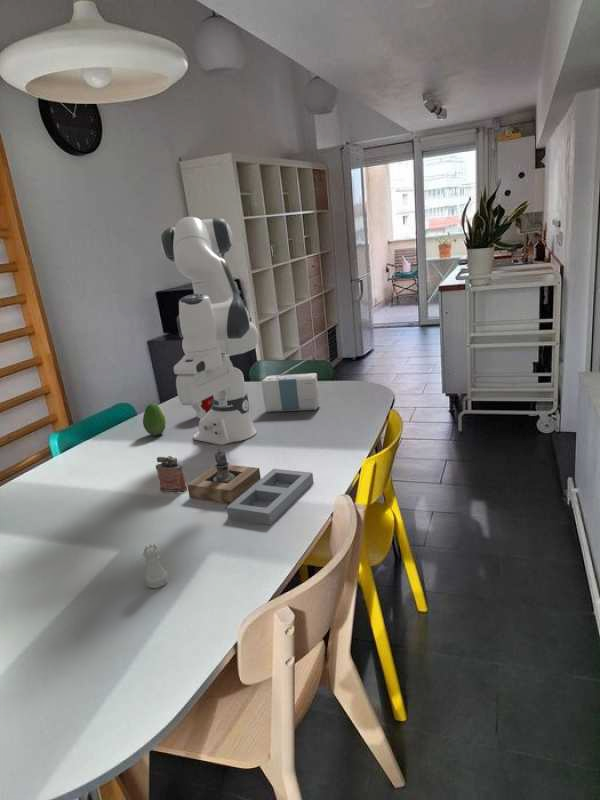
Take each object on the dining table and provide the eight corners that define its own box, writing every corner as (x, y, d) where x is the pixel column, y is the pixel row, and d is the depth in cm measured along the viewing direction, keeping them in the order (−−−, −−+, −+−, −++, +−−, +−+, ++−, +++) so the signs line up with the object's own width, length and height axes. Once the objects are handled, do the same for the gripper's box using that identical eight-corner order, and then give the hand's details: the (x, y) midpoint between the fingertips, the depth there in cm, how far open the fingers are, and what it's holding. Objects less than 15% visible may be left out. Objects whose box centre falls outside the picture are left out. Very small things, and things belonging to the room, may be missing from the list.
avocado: (170, 430, 205) (164, 399, 201) (163, 437, 197) (157, 406, 194) (150, 431, 206) (144, 401, 202) (142, 439, 198) (135, 408, 195)
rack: (228, 518, 133) (226, 507, 132) (274, 478, 152) (273, 468, 151) (270, 525, 127) (269, 513, 126) (313, 482, 146) (312, 472, 145)
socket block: (189, 498, 146) (187, 484, 145) (219, 476, 158) (217, 463, 157) (232, 504, 139) (230, 490, 138) (261, 481, 151) (259, 468, 150)
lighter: (189, 488, 152) (183, 454, 150) (183, 493, 149) (176, 459, 147) (164, 486, 155) (158, 454, 152) (158, 492, 152) (151, 459, 149)
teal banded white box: (265, 413, 211) (258, 363, 206) (270, 407, 219) (264, 358, 213) (317, 411, 206) (312, 360, 201) (321, 404, 214) (316, 355, 208)
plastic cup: (226, 412, 219) (221, 383, 216) (208, 420, 211) (203, 391, 207) (206, 410, 225) (201, 382, 222) (187, 418, 217) (182, 389, 213)
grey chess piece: (232, 494, 145) (225, 452, 142) (212, 494, 147) (204, 453, 143) (239, 484, 151) (233, 444, 147) (219, 485, 152) (212, 444, 149)
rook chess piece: (148, 577, 112) (141, 543, 110) (170, 574, 112) (163, 540, 110) (144, 591, 108) (136, 555, 105) (167, 587, 108) (159, 552, 106)
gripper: (217, 350, 149) (225, 399, 153) (168, 369, 132) (178, 423, 135) (237, 350, 146) (244, 399, 150) (189, 369, 129) (199, 424, 132)
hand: (212, 411), depth 142 cm, fingers open, 8 cm apart
